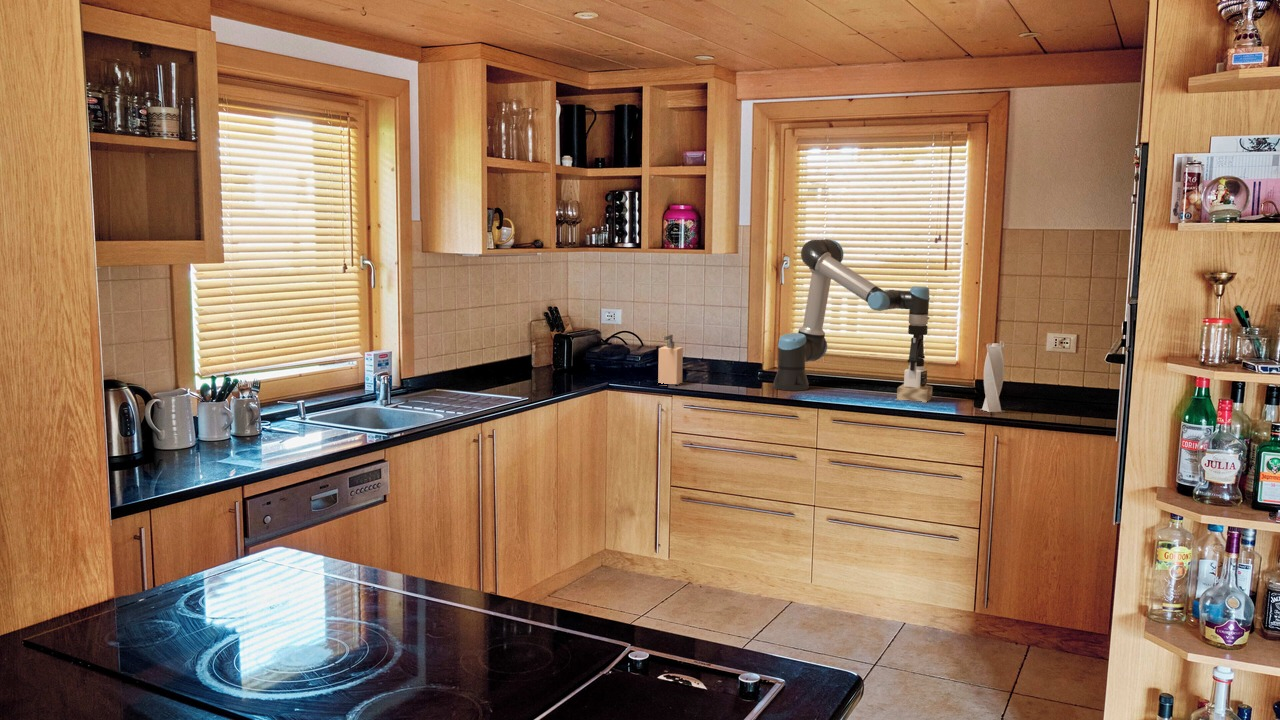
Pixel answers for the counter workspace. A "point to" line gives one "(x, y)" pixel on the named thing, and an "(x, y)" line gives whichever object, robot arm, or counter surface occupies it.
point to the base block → (914, 393)
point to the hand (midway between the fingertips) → (915, 376)
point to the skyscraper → (993, 377)
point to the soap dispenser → (670, 363)
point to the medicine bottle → (920, 376)
